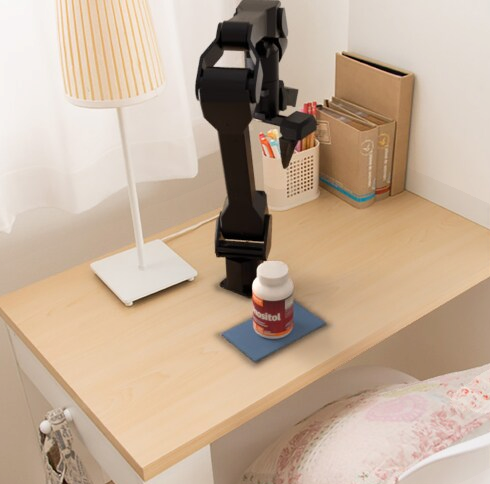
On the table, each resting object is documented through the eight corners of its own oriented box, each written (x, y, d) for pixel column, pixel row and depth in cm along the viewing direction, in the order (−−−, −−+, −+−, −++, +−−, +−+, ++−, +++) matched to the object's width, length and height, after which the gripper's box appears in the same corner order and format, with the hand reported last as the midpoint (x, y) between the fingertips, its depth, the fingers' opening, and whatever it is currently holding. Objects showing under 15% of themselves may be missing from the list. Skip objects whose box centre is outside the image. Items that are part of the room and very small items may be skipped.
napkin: (255, 362, 110) (255, 360, 109) (221, 335, 115) (221, 333, 115) (325, 324, 117) (325, 322, 116) (291, 300, 122) (291, 298, 122)
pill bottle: (246, 333, 114) (243, 274, 108) (264, 311, 119) (263, 253, 113) (282, 345, 112) (281, 285, 106) (300, 322, 117) (300, 263, 110)
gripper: (334, 72, 127) (331, 157, 136) (244, 54, 135) (247, 135, 144) (299, 93, 119) (299, 181, 128) (206, 73, 128) (212, 156, 137)
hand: (264, 162), depth 135 cm, fingers open, 9 cm apart
